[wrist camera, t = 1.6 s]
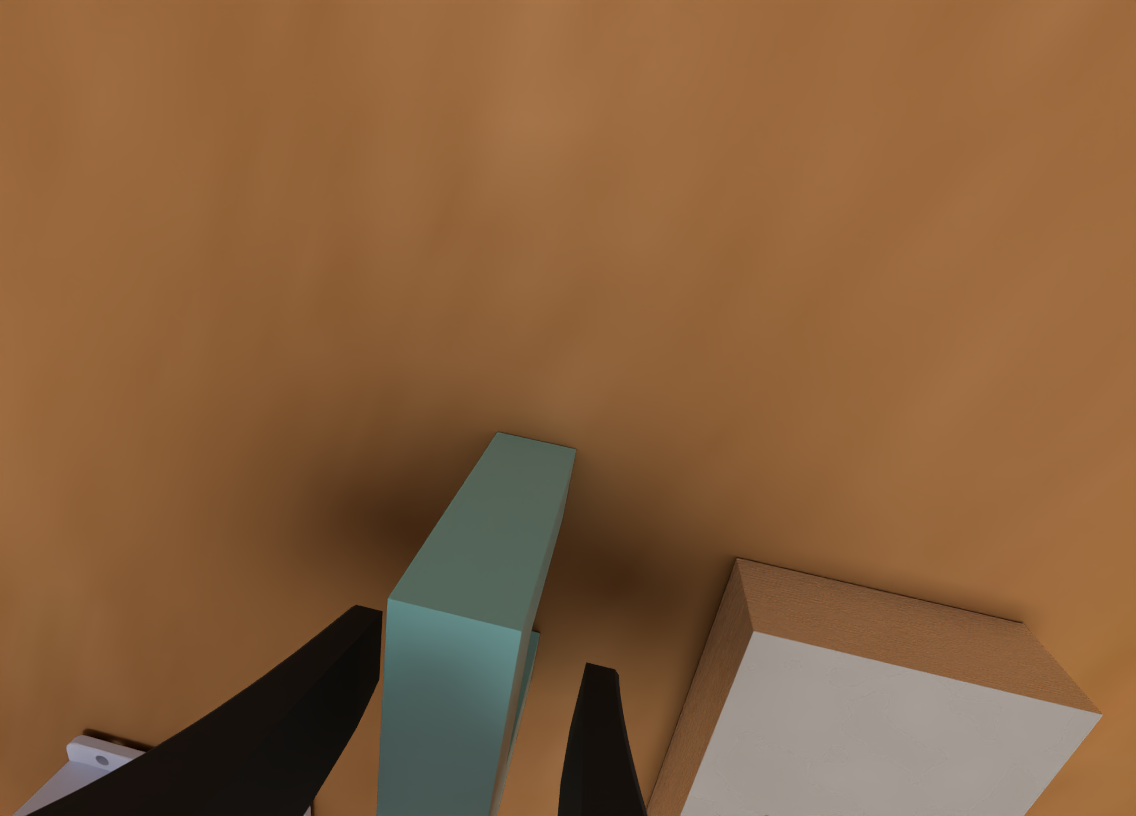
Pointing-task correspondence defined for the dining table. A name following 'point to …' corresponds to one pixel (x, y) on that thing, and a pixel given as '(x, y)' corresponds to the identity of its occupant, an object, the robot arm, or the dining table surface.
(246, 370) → the dining table surface
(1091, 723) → the white slotted slab
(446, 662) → the teal rectangular plank
